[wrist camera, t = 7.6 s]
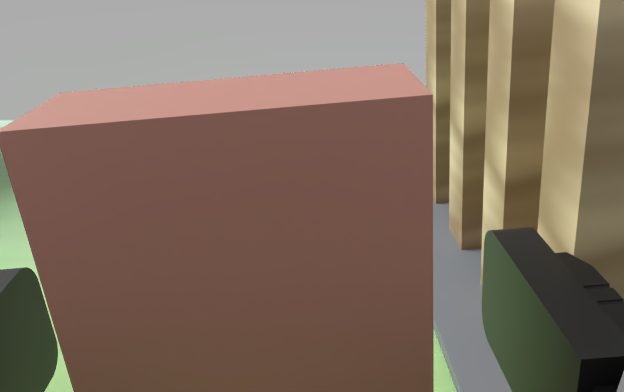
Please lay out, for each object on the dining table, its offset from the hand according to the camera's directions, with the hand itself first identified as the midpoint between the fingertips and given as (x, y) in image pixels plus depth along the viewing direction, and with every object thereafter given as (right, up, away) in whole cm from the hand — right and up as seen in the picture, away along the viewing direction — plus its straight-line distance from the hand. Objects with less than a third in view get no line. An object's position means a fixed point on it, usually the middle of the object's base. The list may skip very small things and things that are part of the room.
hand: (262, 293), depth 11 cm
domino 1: (+1, -6, +1) cm, 6 cm away
